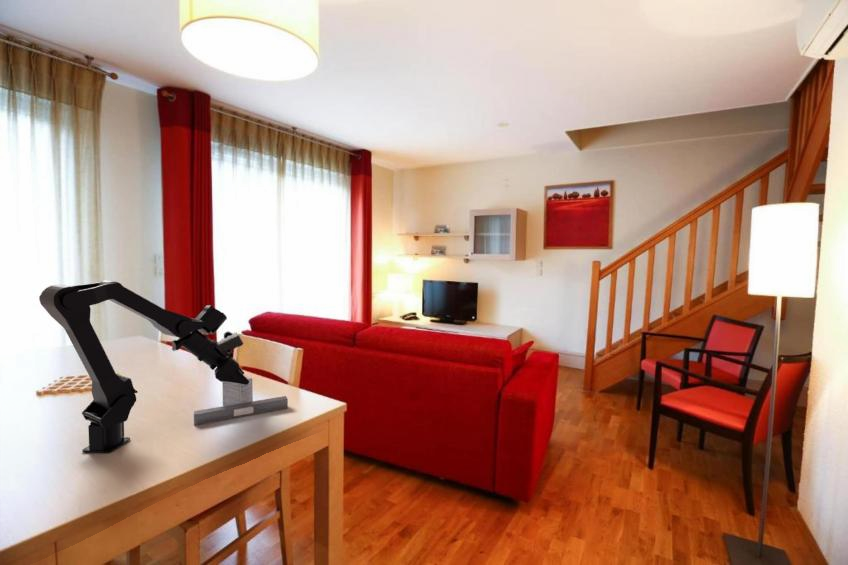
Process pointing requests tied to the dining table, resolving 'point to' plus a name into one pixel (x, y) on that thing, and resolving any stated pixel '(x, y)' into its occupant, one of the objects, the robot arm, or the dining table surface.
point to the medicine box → (237, 392)
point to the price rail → (239, 410)
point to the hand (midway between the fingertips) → (245, 378)
